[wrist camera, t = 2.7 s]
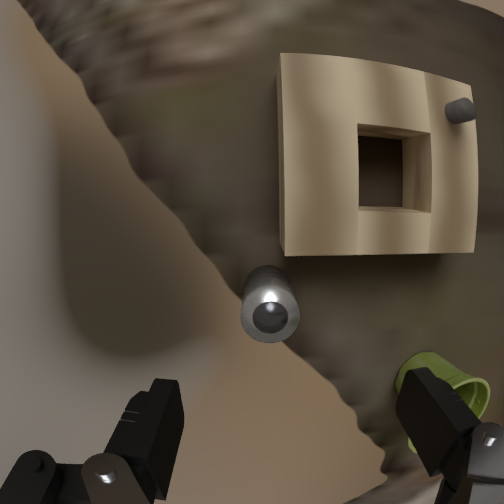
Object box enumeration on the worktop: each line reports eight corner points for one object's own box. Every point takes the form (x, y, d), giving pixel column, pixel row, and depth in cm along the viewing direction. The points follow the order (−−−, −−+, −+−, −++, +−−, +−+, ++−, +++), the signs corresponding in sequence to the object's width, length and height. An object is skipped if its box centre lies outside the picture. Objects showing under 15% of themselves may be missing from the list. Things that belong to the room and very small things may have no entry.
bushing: (291, 264, 25) (301, 289, 19) (290, 308, 26) (298, 342, 20) (243, 265, 25) (239, 290, 20) (245, 309, 26) (241, 343, 20)
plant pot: (366, 377, 28) (393, 433, 20) (434, 320, 26) (480, 361, 18) (400, 415, 29) (425, 463, 21) (459, 366, 28) (496, 406, 19)
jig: (440, 97, 21) (484, 80, 15) (443, 240, 25) (488, 258, 18) (276, 76, 22) (282, 40, 15) (279, 241, 25) (287, 264, 18)
